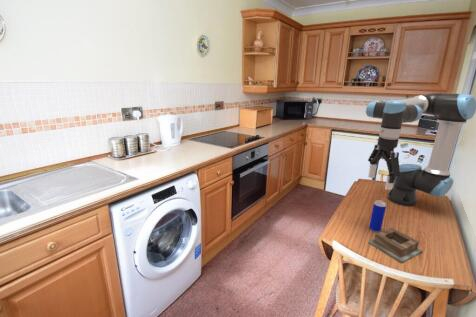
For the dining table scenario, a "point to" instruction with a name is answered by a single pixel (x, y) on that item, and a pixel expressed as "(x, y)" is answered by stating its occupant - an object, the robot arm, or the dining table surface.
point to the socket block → (396, 244)
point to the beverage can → (377, 215)
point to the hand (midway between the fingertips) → (379, 183)
